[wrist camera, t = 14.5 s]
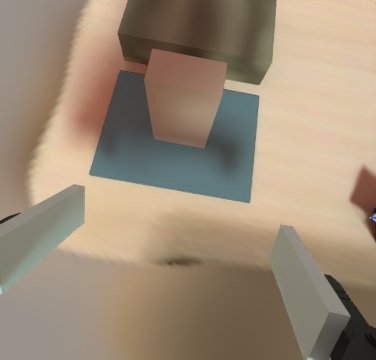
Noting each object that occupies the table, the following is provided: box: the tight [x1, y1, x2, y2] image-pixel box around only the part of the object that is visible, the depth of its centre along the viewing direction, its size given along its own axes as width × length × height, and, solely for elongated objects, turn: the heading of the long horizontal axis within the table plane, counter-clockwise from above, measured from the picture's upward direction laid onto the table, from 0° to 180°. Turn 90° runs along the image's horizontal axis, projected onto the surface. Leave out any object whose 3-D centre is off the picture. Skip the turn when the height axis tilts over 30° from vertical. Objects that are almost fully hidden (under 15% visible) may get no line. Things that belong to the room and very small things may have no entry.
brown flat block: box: [118, 0, 277, 85], centre depth 30 cm, size 18×14×4 cm
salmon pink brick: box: [144, 49, 227, 148], centre depth 22 cm, size 6×3×10 cm, turn 80°
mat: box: [89, 70, 259, 203], centre depth 27 cm, size 18×14×1 cm
